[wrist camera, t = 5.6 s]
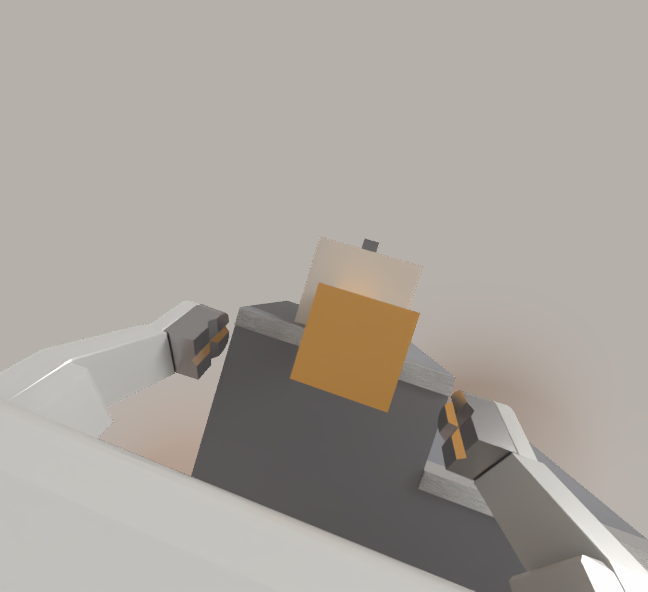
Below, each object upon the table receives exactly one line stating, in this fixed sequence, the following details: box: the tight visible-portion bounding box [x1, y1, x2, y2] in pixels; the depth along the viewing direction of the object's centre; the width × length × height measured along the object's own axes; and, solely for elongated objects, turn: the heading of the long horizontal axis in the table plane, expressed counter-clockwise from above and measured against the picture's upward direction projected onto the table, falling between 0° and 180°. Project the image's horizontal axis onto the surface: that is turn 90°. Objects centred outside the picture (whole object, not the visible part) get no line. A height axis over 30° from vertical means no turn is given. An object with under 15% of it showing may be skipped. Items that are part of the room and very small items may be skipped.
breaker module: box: [290, 237, 423, 413], centre depth 16 cm, size 19×7×8 cm, turn 174°
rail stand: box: [191, 301, 648, 592], centre depth 21 cm, size 12×28×26 cm, turn 84°
